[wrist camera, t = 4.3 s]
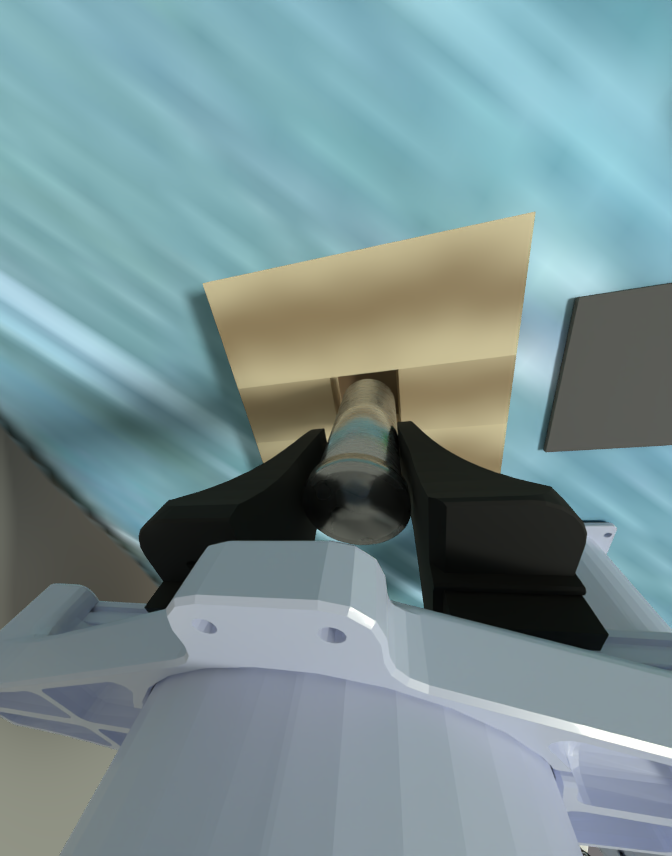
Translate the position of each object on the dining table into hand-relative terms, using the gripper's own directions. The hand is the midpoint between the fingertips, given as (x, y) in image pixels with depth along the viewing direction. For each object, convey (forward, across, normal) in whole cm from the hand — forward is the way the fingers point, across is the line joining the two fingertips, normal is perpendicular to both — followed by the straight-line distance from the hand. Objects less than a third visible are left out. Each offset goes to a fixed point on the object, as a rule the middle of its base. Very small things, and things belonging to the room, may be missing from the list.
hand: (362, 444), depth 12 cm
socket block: (+8, 0, 0) cm, 8 cm away
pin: (+4, 0, 0) cm, 4 cm away
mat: (+8, -17, +1) cm, 19 cm away
